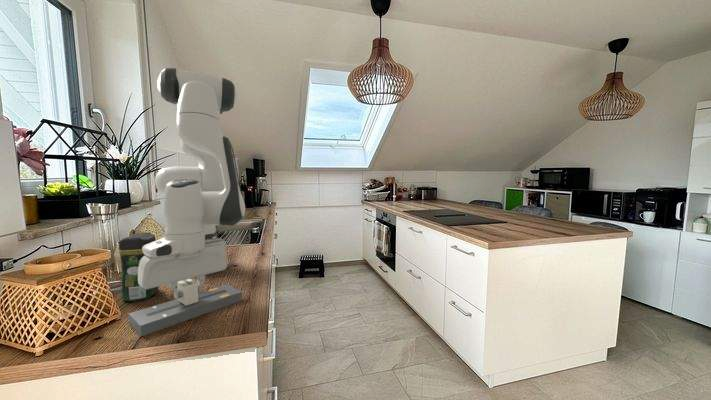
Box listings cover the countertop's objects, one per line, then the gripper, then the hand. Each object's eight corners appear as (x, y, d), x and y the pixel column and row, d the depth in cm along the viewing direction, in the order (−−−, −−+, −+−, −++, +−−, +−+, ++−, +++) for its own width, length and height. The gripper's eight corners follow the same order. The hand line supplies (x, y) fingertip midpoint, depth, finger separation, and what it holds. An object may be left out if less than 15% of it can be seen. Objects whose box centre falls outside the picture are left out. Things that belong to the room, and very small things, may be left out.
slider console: (140, 336, 63) (140, 325, 62) (129, 323, 68) (128, 313, 68) (242, 300, 81) (242, 291, 81) (226, 292, 87) (226, 284, 87)
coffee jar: (132, 290, 88) (129, 231, 86) (162, 288, 90) (159, 230, 89) (116, 304, 78) (112, 238, 77) (149, 300, 81) (146, 236, 79)
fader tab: (185, 305, 71) (185, 285, 71) (177, 300, 74) (177, 281, 74) (198, 301, 74) (197, 282, 73) (190, 296, 77) (189, 278, 76)
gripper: (220, 235, 83) (221, 281, 84) (133, 248, 67) (137, 304, 68) (231, 237, 79) (232, 286, 80) (142, 252, 63) (145, 312, 64)
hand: (187, 294), depth 74 cm, fingers closed on fader tab, 3 cm apart
